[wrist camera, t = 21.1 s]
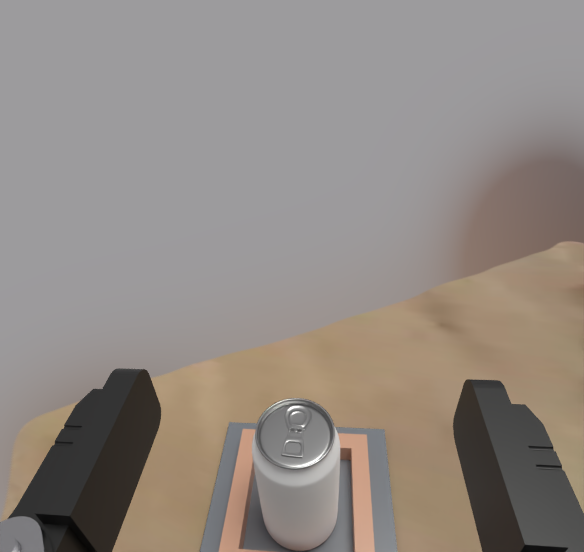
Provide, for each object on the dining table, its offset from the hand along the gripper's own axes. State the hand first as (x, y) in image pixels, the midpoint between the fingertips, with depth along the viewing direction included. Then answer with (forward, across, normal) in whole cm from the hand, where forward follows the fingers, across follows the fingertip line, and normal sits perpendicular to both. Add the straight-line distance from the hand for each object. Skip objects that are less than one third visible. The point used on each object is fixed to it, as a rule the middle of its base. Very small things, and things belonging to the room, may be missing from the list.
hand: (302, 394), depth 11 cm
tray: (+11, -2, -30) cm, 32 cm away
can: (+10, -2, -30) cm, 31 cm away
